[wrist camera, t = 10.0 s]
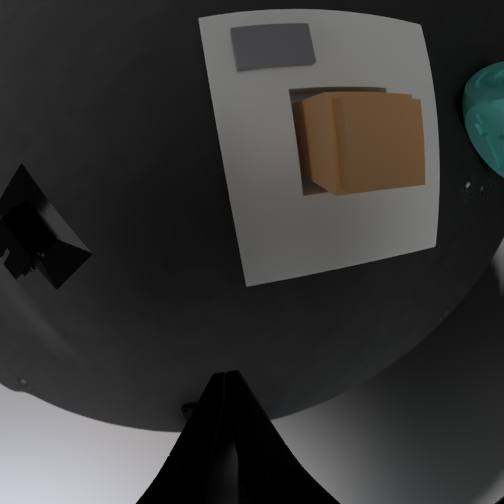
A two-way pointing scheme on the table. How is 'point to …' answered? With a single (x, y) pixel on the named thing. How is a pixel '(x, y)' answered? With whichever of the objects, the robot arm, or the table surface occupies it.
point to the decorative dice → (486, 114)
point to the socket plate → (286, 146)
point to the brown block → (360, 141)
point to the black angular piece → (37, 233)
